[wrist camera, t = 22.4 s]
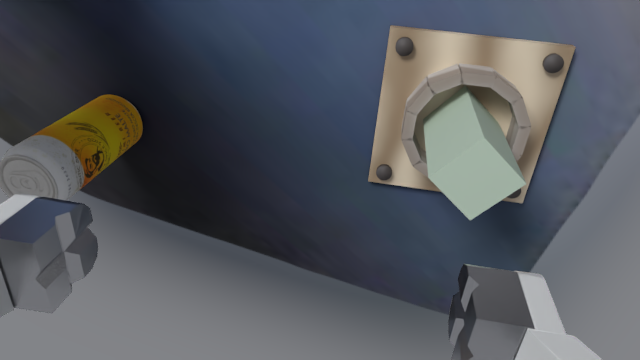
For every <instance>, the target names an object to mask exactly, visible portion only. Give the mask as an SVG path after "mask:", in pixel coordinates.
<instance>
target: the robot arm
mask: <svg viewBox="0 0 640 360" xmlns="http://www.w3.org/2000/svg"><path fill="white" fill-rule="evenodd" d="M92 221H93V219H92V214H91V210H90V208H89V207H88V206H86V205H85V204H82V203H76V202H71V201H65V200H60V199H54V198H49V197H41V196H36V195H30V194H24V193H22V194H15V195H13V196H12V197H11V198H9V199H8V200H6V201H5V202H3V203H2V204H0V317H2V316H3V315H5V314H7V313H9V312H11V311H12V310H14V308H19V309H26V310H33V311H39V312H46V313H53V312H54V311H55V310H56V309H57V308H58V307H59V305H60V304H61V303H62V302H63V301H64V300H65V299H66V298H67V296H69V294H70V293H71V292H72V283H74V282H76V281H78V280H80V279H83V278H84V277H85V276H86V275H87V274H88V273H89V272H90V271H91V269H92V268H93V265H94V263H95V260H96V258H97V252H98V243H97V238H96V236H95V235H94V234H93V233H92V232H91V230H90V229H89V228H88V227H89V226H90V224H91V223H92ZM458 283H459V292H458V293H456V294H455V295H453V298H452V302H451V306H450V312H449V320H448V333H449V341H450V342H451V344H452V345H453V346H454V351H453V354H452V357H451V360H602V359H601V358H600V357H598V356H597V355H596V354H595V353H594V352H593V351H591V350H590V349H589V348H588V347H587V346H586V345H584V344H583V343H582V342H581V341H580V340H579V339H577V338H576V337H575V336H571V335H567V334H566V332H565V329H564V327H563V324H562V322H561V319H560V316H559V314H558V311H557V309H556V306H555V304H554V301H553V299H552V296H551V294H550V292H549V289H548V286H547V284H546V281H545V279H544V277H543V276H542V275H541V274H536V273H529V272H521V271H507V270H501V269H494V268H488V267H481V266H475V265H468V264H463V266H462V268H461V270H460V274H459V277H458Z"/></svg>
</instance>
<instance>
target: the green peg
mask: <svg viewBox="0 0 640 360" xmlns="http://www.w3.org/2000/svg"><path fill="white" fill-rule="evenodd" d="M423 124H424V135H425V147H426V158H427V169H428V178H429V179H430V180H431V181H432V182H433V183H434V184H435V185H436V186H437V187H438V188H439V189H440V190H441V191H442V192H443V193H444V194H445V195H446V196H447V197H448V198H449V199H450V201H451V202H452V203H453V204H454V205H455V206H456V207H457V208H458V209H459V210H460V211H461V212H462V213H463V214H464V215H465V216H466V217H467V218H468V219H469V220H471V219H473V218H475V217H476V216H478V215H479V214H481V213H482V212H484V211H485V210H487V209H489V208H490V207H492V206H493V205H495V204H496V203H498V202H499V201H501V200H503V199H504V198H506V197H507V196H509V195H510V194H512V193H513V192H515V191H516V190H518V189H520V188H521V187H523V186H524V185H526V182H525V179H524V177H523V175H522V173H521V171H520V168H519V166H518V164H517V162H516V160H515V157H514V155H513V153H512V151H511V149H510V147H509V144H508V142H507V140H506V138H505V136H504V133H503V131H502V129H501V127H500V125H499V123H498V121H497V120H496V119H495V118H494V117H493V116H492V115H491V114H490V112H489V111H488V110H487V109H486V108H485V107H484V106H483V105H482V103H481V102H480V101H479V100H478V99H477V98H476V97H475V96H474V94H473V93H472V92H471V91H470V90H469V89H468V88H467V87H466V85H465V86H464V87H463V88H462V89H460V90H459V91H458V92H457V93H455V94H454V95H453V96H452V97H450V98H449V99H448V100H447V101H445V102H444V103H443V104H442V105H440V106H439V107H438V108H437V109H435V110H434V111H433V112H432V113H430V114H429V115H428V116H427V117H425V118H424V119H423Z"/></svg>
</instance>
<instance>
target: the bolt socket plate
mask: <svg viewBox="0 0 640 360" xmlns="http://www.w3.org/2000/svg"><path fill="white" fill-rule="evenodd" d="M575 48H576V47H575V46H573V45H567V44H558V43H548V42H539V41H530V40H521V39H512V38H503V37H493V36H484V35H475V34H466V33H457V32H448V31H438V30H429V29H420V28H411V27H402V26H393V25H391V26H390V33H389V40H388V47H387V54H386V61H385V68H384V75H383V82H382V89H381V96H380V102H379V109H378V116H377V123H376V130H375V137H374V144H373V151H372V158H371V165H370V172H369V179H368V181H369V182H376V183H383V184H390V185H397V186H404V187H411V188H418V189H425V190H432V191H439V192H442V191H441V190H440V189H439V188H438V187H437V186H436V185H435V184H434V183H433V182H432V181H431V180H430V179H429V178H428V169H427V158H426V147H425V135H424V124H423V119H424V118H425V117H427V116H428V115H429V114H430V113H432V112H433V111H434V110H435V109H437V108H438V107H439V106H440V105H442V104H443V103H444V102H445V101H447V100H448V99H449V98H450V97H452V96H453V95H454V94H455V93H457V92H458V91H459V90H460V89H462V88H463V87H464V86H465V85H466V87H467V88H468V89H469V90H470V91H471V92H472V93H473V94H474V96H475V97H476V98H477V99H478V100H479V101H480V102H481V103H482V105H483V106H484V107H485V108H486V109H487V110H488V111H489V112H490V114H491V115H492V116H493V117H494V118H495V119H496V120H497V121H498V123H499V125H500V127H501V129H502V131H503V133H504V136H505V138H506V140H507V142H508V144H509V147H510V149H511V151H512V153H513V155H514V157H515V160H516V162H517V164H518V166H519V168H520V171H521V173H522V175H523V177H524V179H525V182H526V185H524V186H523V187H521V188H520V189H518V190H516V191H515V192H513V193H512V194H510V195H509V196H507V197H506V198H504V199H503V201H510V202H517V203H523V201H524V198H525V195H526V192H527V189H528V186H529V183H530V180H531V177H532V174H533V171H534V168H535V165H536V162H537V159H538V157H539V154H540V151H541V148H542V145H543V142H544V139H545V136H546V133H547V130H548V127H549V124H550V121H551V118H552V115H553V112H554V109H555V107H556V104H557V101H558V98H559V95H560V92H561V89H562V86H563V83H564V80H565V77H566V74H567V71H568V68H569V65H570V62H571V60H572V57H573V54H574V51H575Z"/></svg>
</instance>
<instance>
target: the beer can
mask: <svg viewBox="0 0 640 360" xmlns="http://www.w3.org/2000/svg"><path fill="white" fill-rule="evenodd" d="M142 131H143V125H142V120H141V117H140V114H139V112H138V111H137V109H136V108H135V107H134V106H133V105H132V104H131V103H130V102H129V101H127V100H125V99H124V98H122V97H119V96H116V95H110V94H108V95H102V96H100V97H98V98H96V99H94V100H92V101H91V102H89V103H87V104H86V105H84V106H82V107H80V108H79V109H77V110H75V111H74V112H72V113H70V114H69V115H67V116H65V117H63V118H62V119H60V120H58V121H57V122H55V123H53V124H51V125H50V126H48V127H46V128H45V129H43V130H41V131H39V132H38V133H36V134H34V135H33V136H31V137H29V138H27V139H26V140H24V141H22V142H21V143H19V144H17V145H15V146H14V147H12V148H10V149H9V150H8V151H7V152H6V153H5V154H4V156H3V158H2V160H1V161H0V187H1V189H2V190H3V192H4V193H5V194H6V195H7V196H8V197H9V198H11V197H12V196H13V195H15V194H22V193H24V194H30V195H36V196H41V197H49V198H54V199H60V200H65V201H67V200H68V199H69V198H70V197H72V196H73V195H74V194H75V193H76V192H77V191H79V190H80V189H81V188H82V187H84V186H85V185H86V184H87V183H88V182H90V181H91V180H92V179H93V178H94V177H95V176H97V175H98V174H99V173H100V172H101V171H103V170H104V169H105V168H106V167H107V166H109V165H110V164H111V163H112V162H113V161H115V160H116V159H117V158H118V157H119V156H121V155H122V154H123V153H124V152H125V151H127V150H128V149H129V148H130V147H131V146H133V145H134V144H135V143H136V142H137V141H138V140H139V139H140V137H141V135H142Z"/></svg>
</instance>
